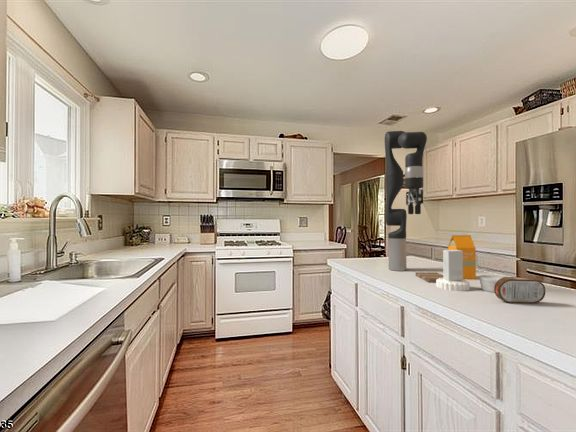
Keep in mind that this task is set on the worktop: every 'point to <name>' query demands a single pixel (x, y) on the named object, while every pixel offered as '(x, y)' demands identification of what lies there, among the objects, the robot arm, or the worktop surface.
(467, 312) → the worktop surface
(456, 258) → the skincare box
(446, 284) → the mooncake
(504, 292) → the tin
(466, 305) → the worktop surface
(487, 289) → the ramekin
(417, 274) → the walnut board
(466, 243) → the orange juice
